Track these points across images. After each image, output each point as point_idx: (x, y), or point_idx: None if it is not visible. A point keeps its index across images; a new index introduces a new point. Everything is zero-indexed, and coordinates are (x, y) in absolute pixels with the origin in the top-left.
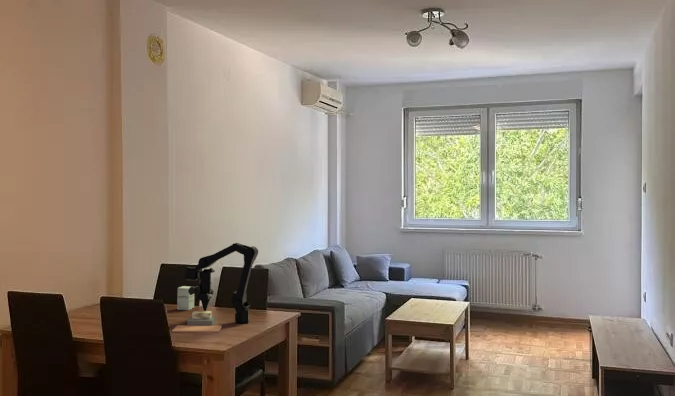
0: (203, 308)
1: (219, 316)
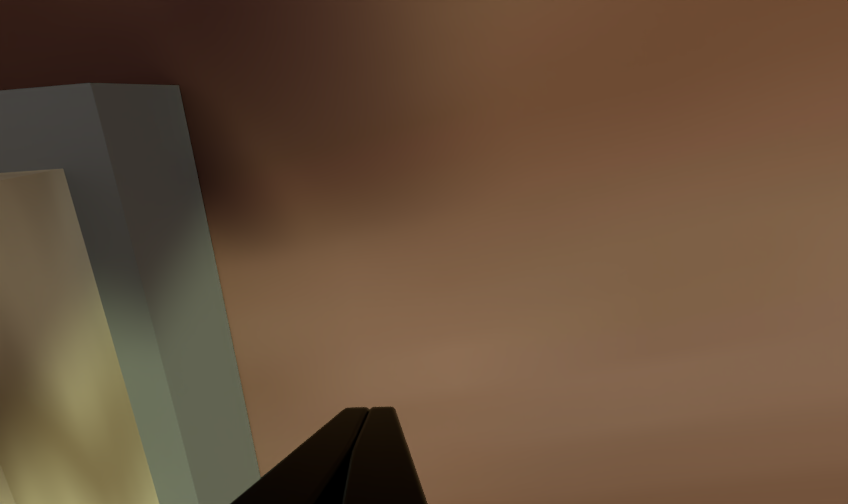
0: (302, 456)
1: (813, 489)
